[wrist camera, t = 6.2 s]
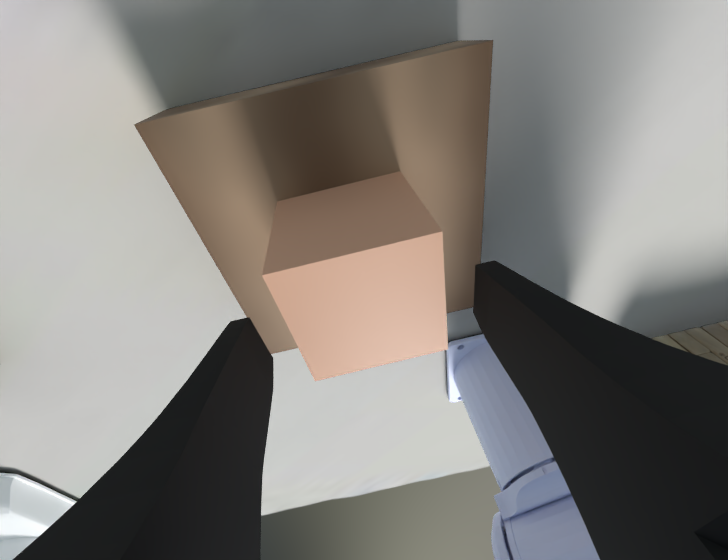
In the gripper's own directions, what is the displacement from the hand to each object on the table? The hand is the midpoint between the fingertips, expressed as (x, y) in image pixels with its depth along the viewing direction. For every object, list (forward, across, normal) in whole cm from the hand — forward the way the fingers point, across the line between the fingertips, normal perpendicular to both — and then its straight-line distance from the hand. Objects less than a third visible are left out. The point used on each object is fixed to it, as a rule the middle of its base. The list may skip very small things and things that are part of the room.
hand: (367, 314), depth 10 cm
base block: (+8, 0, 0) cm, 8 cm away
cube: (+5, 0, 0) cm, 5 cm away
